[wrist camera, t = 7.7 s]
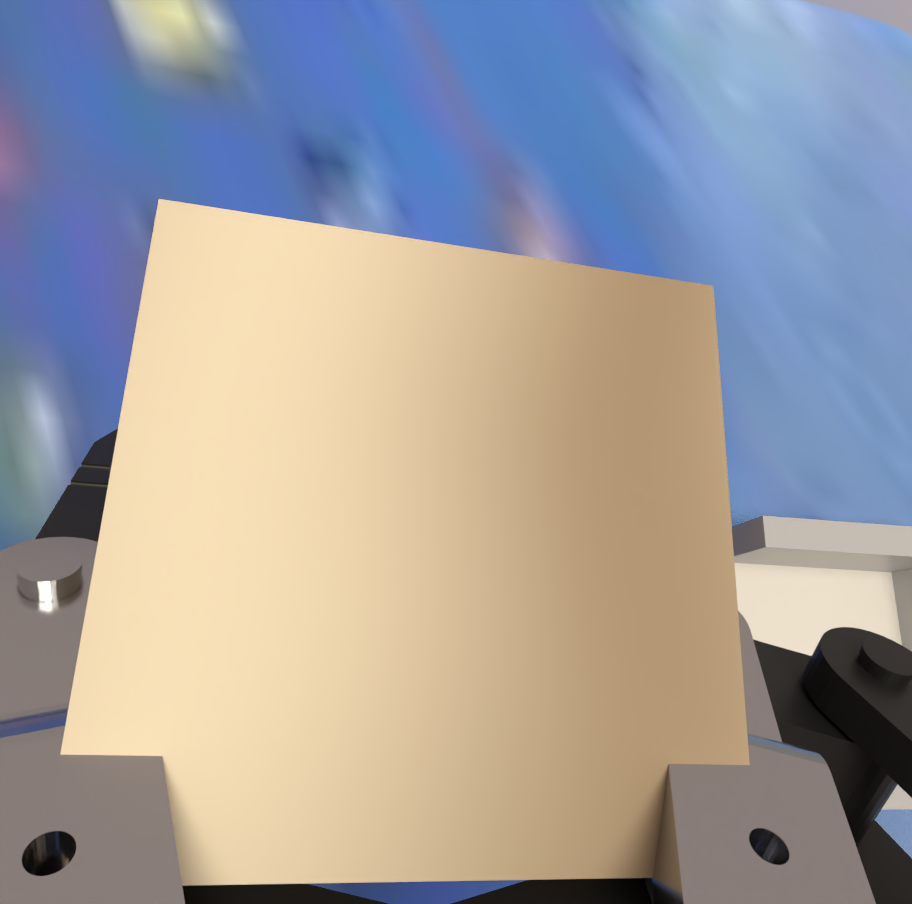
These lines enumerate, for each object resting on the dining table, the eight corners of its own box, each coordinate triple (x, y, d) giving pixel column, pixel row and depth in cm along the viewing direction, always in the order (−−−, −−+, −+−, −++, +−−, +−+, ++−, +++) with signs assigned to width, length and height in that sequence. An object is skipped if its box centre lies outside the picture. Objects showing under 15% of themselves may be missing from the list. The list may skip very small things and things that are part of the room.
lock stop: (202, 745, 14) (36, 887, 4) (232, 501, 15) (157, 198, 6) (447, 750, 14) (756, 875, 5) (455, 519, 16) (713, 285, 6)
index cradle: (724, 792, 25) (791, 809, 21) (705, 536, 27) (762, 515, 24) (935, 792, 26) (1029, 808, 23) (899, 549, 29) (979, 531, 25)
